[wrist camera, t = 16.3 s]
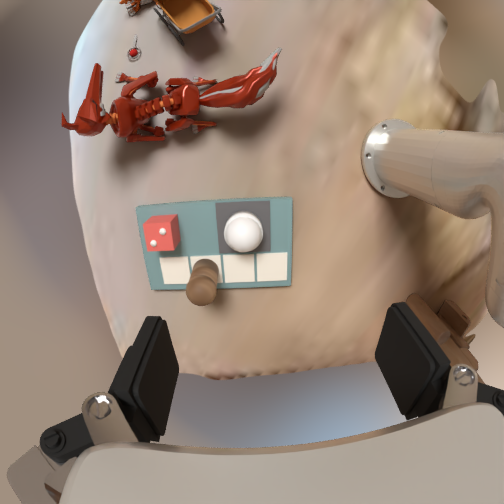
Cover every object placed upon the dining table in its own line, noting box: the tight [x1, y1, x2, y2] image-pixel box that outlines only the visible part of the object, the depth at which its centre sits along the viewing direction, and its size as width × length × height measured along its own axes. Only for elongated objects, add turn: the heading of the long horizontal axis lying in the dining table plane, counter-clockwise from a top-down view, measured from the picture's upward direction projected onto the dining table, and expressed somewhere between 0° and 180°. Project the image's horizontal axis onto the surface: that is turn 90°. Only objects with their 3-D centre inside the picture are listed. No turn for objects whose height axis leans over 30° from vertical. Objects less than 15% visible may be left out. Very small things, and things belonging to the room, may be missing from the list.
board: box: [136, 197, 292, 290], centre depth 39 cm, size 23×14×5 cm, turn 92°
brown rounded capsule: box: [186, 259, 219, 306], centre depth 38 cm, size 4×4×8 cm
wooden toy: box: [406, 294, 485, 384], centre depth 36 cm, size 16×7×25 cm, turn 76°
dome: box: [224, 211, 263, 252], centre depth 36 cm, size 5×5×5 cm
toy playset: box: [62, 0, 282, 142], centre depth 24 cm, size 35×26×14 cm
